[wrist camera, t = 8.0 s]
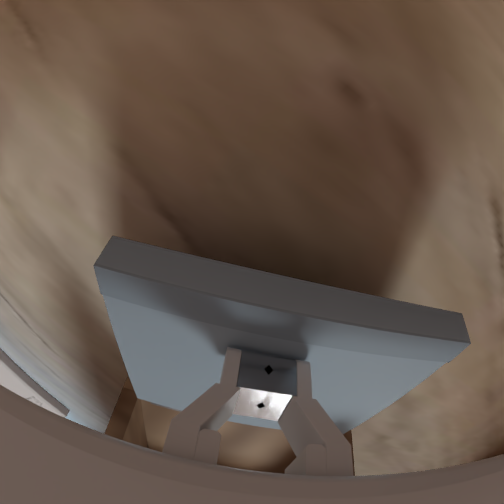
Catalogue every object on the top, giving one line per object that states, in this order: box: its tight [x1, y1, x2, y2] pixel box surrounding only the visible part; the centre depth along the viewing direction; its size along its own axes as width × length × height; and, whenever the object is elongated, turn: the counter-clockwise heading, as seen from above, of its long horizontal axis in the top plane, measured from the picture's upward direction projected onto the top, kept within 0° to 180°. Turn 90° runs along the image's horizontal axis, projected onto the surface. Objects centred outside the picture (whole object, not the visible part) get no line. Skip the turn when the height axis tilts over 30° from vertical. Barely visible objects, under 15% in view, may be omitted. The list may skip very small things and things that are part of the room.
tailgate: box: [94, 236, 471, 434], centre depth 14 cm, size 13×1×13 cm
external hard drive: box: [0, 349, 69, 418], centre depth 25 cm, size 2×8×12 cm
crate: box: [105, 375, 355, 476], centre depth 21 cm, size 16×16×9 cm
